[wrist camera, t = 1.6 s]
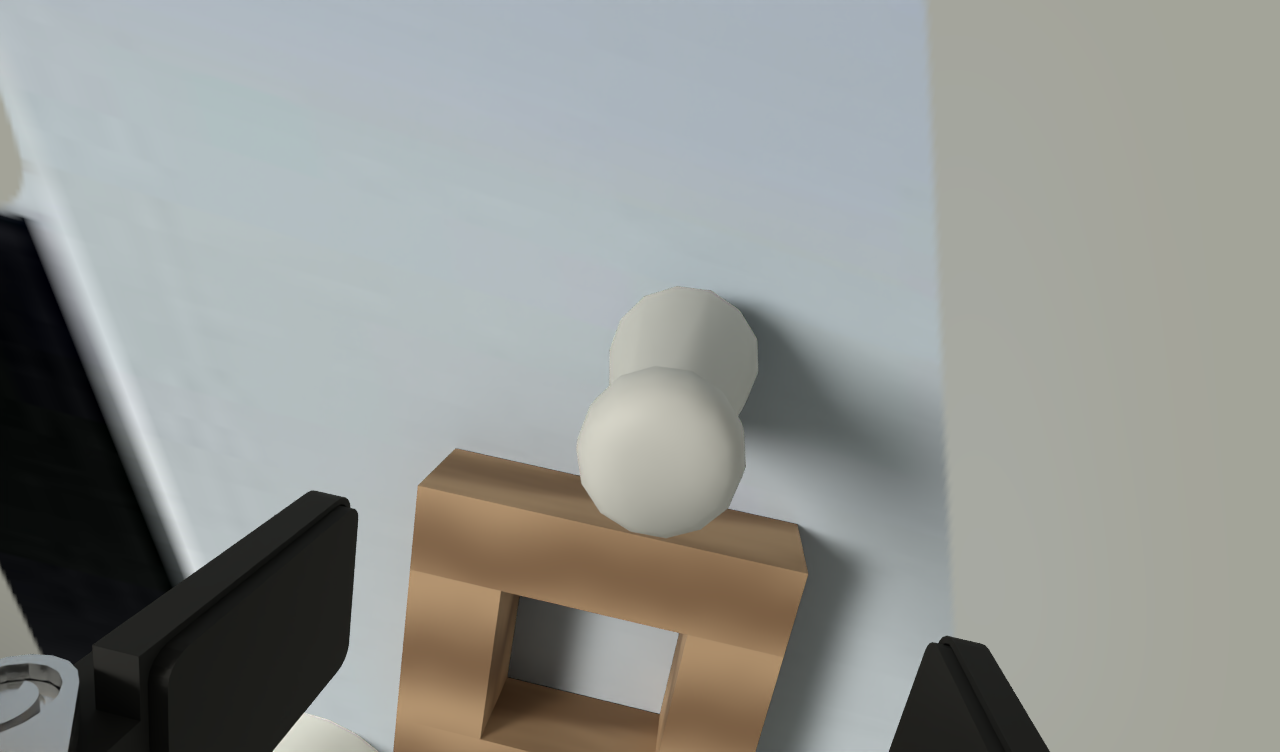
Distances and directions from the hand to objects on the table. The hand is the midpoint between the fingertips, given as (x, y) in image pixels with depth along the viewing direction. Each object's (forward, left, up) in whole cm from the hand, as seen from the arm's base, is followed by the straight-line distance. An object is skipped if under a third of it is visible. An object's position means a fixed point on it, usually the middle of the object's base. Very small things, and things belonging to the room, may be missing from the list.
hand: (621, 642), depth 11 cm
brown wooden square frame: (+15, -2, -19) cm, 24 cm away
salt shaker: (0, 0, -19) cm, 19 cm away
